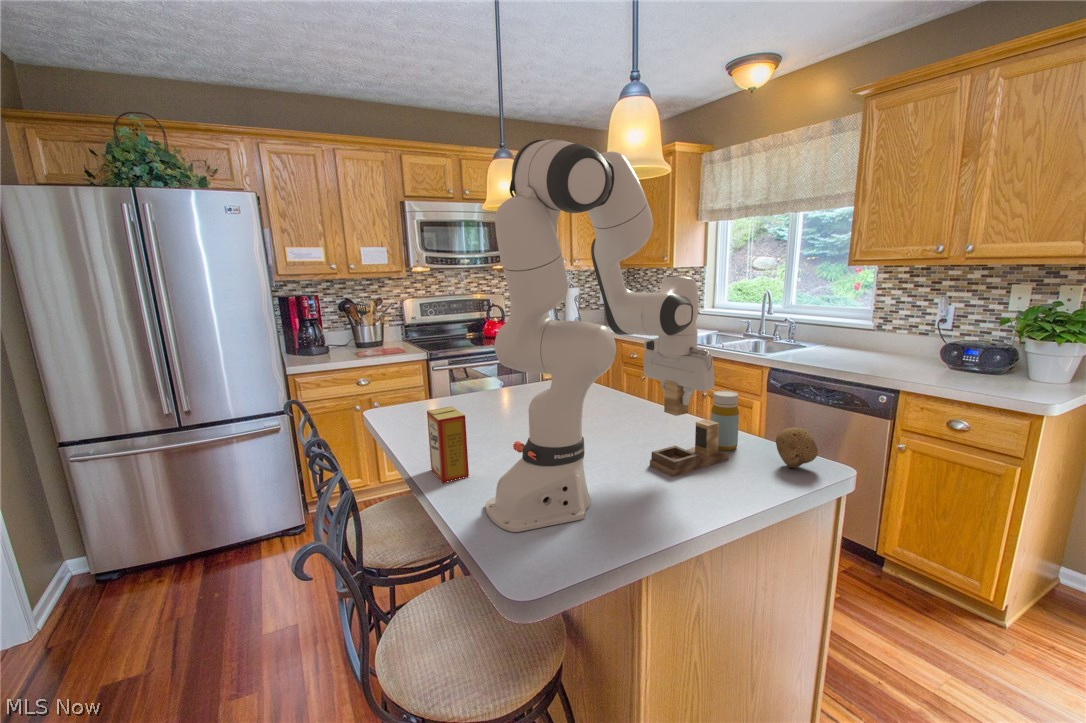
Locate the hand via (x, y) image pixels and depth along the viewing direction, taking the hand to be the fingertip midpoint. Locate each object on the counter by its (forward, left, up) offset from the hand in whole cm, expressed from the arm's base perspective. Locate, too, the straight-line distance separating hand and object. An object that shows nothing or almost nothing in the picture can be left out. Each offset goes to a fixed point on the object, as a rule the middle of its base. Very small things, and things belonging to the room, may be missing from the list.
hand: (676, 401), depth 117 cm
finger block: (0, 0, -3) cm, 3 cm away
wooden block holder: (+5, 0, -17) cm, 17 cm away
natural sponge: (+24, -16, -17) cm, 33 cm away
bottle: (+21, +3, -17) cm, 27 cm away
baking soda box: (-49, +27, -17) cm, 59 cm away
